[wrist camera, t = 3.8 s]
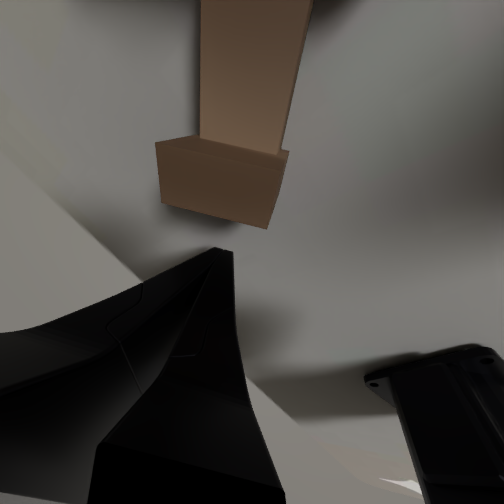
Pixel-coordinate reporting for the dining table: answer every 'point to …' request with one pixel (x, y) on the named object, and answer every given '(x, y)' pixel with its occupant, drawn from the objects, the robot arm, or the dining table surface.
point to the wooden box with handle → (238, 111)
